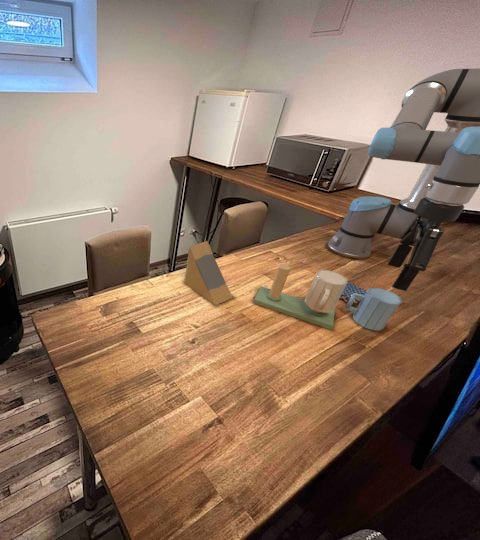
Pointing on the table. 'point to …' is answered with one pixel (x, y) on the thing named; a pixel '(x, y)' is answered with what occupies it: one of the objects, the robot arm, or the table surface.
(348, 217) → the robot arm
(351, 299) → the blue cup
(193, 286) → the sandwich container
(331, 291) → the cream cup
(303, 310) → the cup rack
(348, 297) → the woven mat
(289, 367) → the table surface
